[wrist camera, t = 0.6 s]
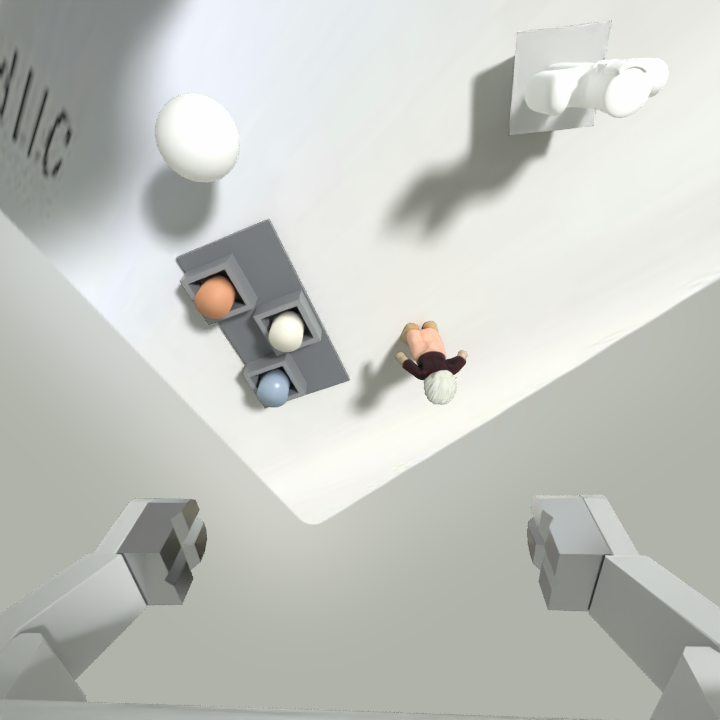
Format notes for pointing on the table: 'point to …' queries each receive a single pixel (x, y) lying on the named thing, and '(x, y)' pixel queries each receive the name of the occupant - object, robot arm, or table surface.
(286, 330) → the cream button
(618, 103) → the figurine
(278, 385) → the slate button
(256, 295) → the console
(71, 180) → the table surface
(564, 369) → the table surface
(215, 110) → the lightbulb
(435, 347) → the grandmother figurine
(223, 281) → the rust button
